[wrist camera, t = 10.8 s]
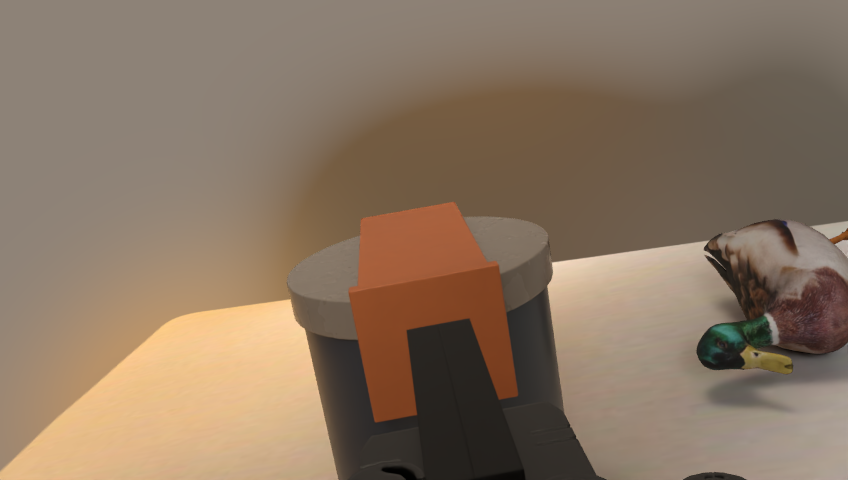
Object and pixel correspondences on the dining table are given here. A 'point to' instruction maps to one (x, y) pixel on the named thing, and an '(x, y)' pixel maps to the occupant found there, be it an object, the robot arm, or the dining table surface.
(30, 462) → the dining table surface
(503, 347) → the lid slider
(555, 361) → the travel mug
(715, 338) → the decorative duck model
